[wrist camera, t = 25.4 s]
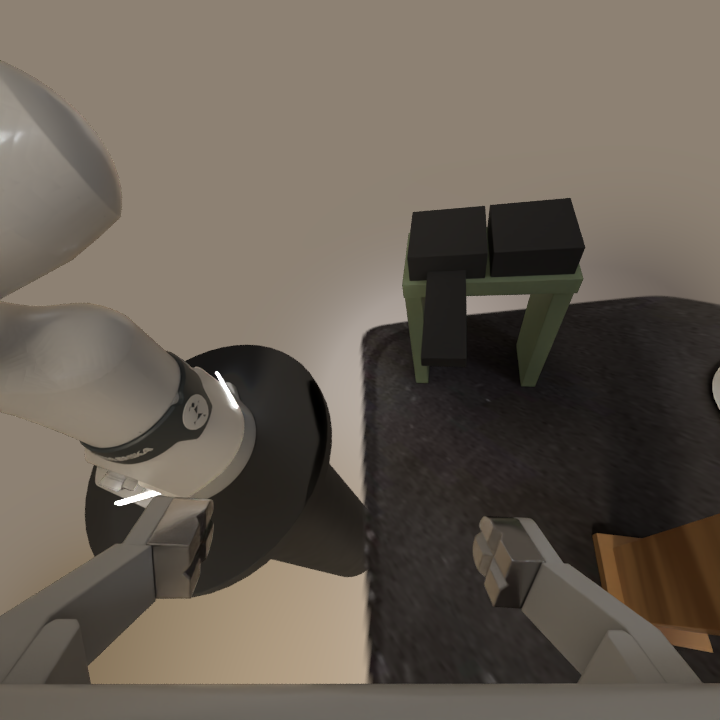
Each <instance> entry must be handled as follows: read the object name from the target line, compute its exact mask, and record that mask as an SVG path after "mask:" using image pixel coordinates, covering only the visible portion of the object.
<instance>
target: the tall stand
mask: <svg viewBox="0 0 720 720" xmlns="http://www.w3.org/2000/svg"><path fill="white" fill-rule="evenodd" d="M592 537H593V543H594V548H595V553H596V559H597V564H598V569H599V575H600V580H601V585H602V589H604V590H605V591H607V592H608V593H609V594H611V595H612V596H614V597H615V598H616V599H618V600H619V601H620V602H622V603H623V604H625V605H626V606H627V607H629V608H630V609H631V610H633V611H634V612H636V613H637V614H638V615H640V616H641V617H643V618H644V619H645V620H647V621H648V622H649V623H651V624H652V625H654V626H655V627H656V628H658V629H659V630H660V631H661V632H662V634H663V635H664V636H665V637H666V639H667V640H668V641H669V642H670V643H671V645H675V646H680V647H685V648H691V649H696V650H701V651H707V652H713V650H712V647H711V644H710V640H709V637H708V634H711V635H719V636H720V514H717V515H714V516H711V517H708V518H704V519H701V520H698V521H695V522H692V523H689V524H686V525H683V526H679V527H676V528H673V529H670V530H667V531H664V532H661V533H658V534H654V535H651V536H648V537H645V538H642V539H641V538H633V537H625V536H617V535H609V534H601V533H596V534H593V535H592Z"/></svg>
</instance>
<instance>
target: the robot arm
mask: <svg viewBox="0 0 720 720" xmlns="http://www.w3.org/2000/svg"><path fill="white" fill-rule="evenodd" d="M121 210H122V192H121V185H120V180H119V176H118V173H117V170H116V167H115V165H114V162H113V160H112V158H111V156H110V154H109V152H108V150H107V148H106V147H105V145H104V143H103V142H102V140H101V139H100V137H99V136H98V134H97V133H96V131H95V130H94V129H93V128H92V127H91V125H90V124H89V123H88V122H87V120H86V119H85V118H84V117H83V116H82V115H81V114H80V113H79V112H78V111H77V110H76V109H75V108H74V107H73V106H72V105H71V104H69V103H68V102H67V101H66V100H65V99H64V98H62V97H61V96H60V95H59V94H57V93H56V92H54V91H53V90H52V89H51V88H50V87H48V86H47V85H45V84H44V83H42V82H41V81H39V80H38V79H36V78H34V77H33V76H31V75H29V74H27V73H26V72H24V71H22V70H20V69H18V68H16V67H14V66H12V65H10V64H8V63H5V62H3V61H1V60H0V299H2V298H3V297H5V296H7V295H9V294H11V293H13V292H15V291H16V290H18V289H20V288H22V287H24V286H26V285H27V284H29V283H31V282H33V281H35V280H36V279H38V278H40V277H42V276H44V275H46V274H48V273H49V272H51V271H53V270H55V269H57V268H59V267H60V266H62V265H64V264H66V263H68V262H70V261H71V260H73V259H74V258H75V257H76V256H77V255H78V254H80V253H81V252H82V251H83V250H85V249H86V248H87V247H88V246H89V245H91V244H92V243H93V242H94V241H95V240H96V239H98V238H99V237H100V236H101V235H102V234H103V233H104V232H105V231H106V230H107V229H108V228H110V227H111V226H112V225H113V224H114V223H115V222H116V221H117V220H118V219H119V218H120V217H121ZM215 373H216V375H217V377H218V379H219V380H220V382H221V383H220V382H219V381H217V380H216V379H215V378H214V377H212V376H211V375H210V374H208V373H207V372H206V371H204V370H203V369H202V368H200V367H195V368H191V367H190V365H189V364H188V363H186V362H185V361H184V360H183V359H180V358H179V357H178V356H176V355H175V354H173V353H171V352H168V351H165V350H164V349H163V348H162V347H161V346H159V345H158V344H157V343H156V342H155V341H154V340H153V339H152V338H151V337H149V336H148V335H147V334H146V333H145V332H144V331H143V330H142V329H140V328H139V327H138V326H137V325H136V324H135V323H134V322H133V321H132V320H131V319H130V318H128V317H127V316H126V315H124V314H122V313H120V312H118V311H115V310H113V309H110V308H107V307H104V306H100V305H95V304H90V303H70V304H60V305H51V306H27V305H19V304H12V303H7V302H2V301H0V412H1V413H5V414H9V415H13V416H16V417H19V418H22V419H25V420H28V421H31V422H33V423H36V424H39V425H42V426H44V427H47V428H50V429H52V430H55V431H57V432H60V433H62V434H65V435H68V436H70V437H72V438H75V439H77V440H79V441H80V442H81V444H82V445H83V446H84V447H85V454H84V455H85V460H86V461H87V462H88V463H91V464H93V465H96V466H97V470H96V476H95V483H96V485H97V486H99V487H101V488H103V489H105V490H107V491H109V492H111V493H113V494H115V495H118V496H120V497H122V498H124V499H123V500H119V501H116V502H115V505H119V506H121V505H124V504H128V503H131V502H133V503H135V504H137V505H139V506H141V507H144V508H146V509H145V510H144V512H143V513H142V515H141V516H140V518H139V519H138V521H137V522H136V524H135V525H134V527H133V528H132V530H131V531H130V533H129V534H128V536H127V537H126V539H125V540H124V542H123V543H122V544H115V545H113V546H112V547H110V548H108V549H107V550H105V551H104V552H102V553H100V554H99V555H97V556H96V557H94V558H93V559H91V560H89V561H88V562H86V563H85V564H83V565H81V566H80V567H78V568H77V569H75V570H73V571H72V572H70V573H69V574H67V575H65V576H64V577H62V578H60V579H59V580H57V581H56V582H54V583H52V584H51V585H49V586H48V587H46V588H44V589H43V590H41V591H39V592H38V593H36V594H35V595H33V596H32V597H30V598H28V599H27V600H25V601H23V602H22V603H20V604H19V605H17V606H15V607H14V608H12V609H11V610H9V611H8V612H6V613H4V614H3V615H1V616H0V720H720V683H702V682H701V680H700V679H699V678H698V677H697V675H696V674H695V673H694V672H693V671H692V669H691V668H690V667H689V666H688V664H687V663H686V662H685V661H684V659H683V658H682V657H681V656H680V655H679V653H678V652H677V651H676V650H675V648H674V647H673V646H672V645H671V643H670V642H669V641H668V640H667V639H666V637H665V636H664V635H663V634H662V632H661V631H660V630H659V629H658V628H656V627H655V626H654V625H652V624H651V623H649V622H648V621H647V620H645V619H644V618H643V617H641V616H640V615H638V614H637V613H636V612H634V611H633V610H631V609H630V608H629V607H627V606H626V605H625V604H623V603H622V602H620V601H619V600H618V599H616V598H615V597H614V596H612V595H611V594H609V593H608V592H607V591H605V590H604V589H602V588H601V587H600V586H598V585H597V584H596V583H594V582H593V581H591V580H590V579H589V578H587V577H586V576H584V575H583V574H582V573H580V572H579V571H578V570H576V569H575V568H573V567H572V566H571V565H569V564H564V563H563V562H562V560H561V559H560V558H559V556H558V555H557V553H556V552H555V550H554V549H553V548H552V546H551V545H550V543H549V542H548V540H547V539H546V537H545V536H544V535H543V533H542V532H541V530H540V529H539V527H538V526H537V524H536V523H535V522H534V521H533V520H532V519H530V518H512V517H493V516H484V517H483V518H482V519H481V521H480V524H479V527H480V529H481V532H480V533H479V534H478V535H476V536H475V538H474V542H473V558H474V562H475V565H476V567H477V570H478V571H479V572H480V573H481V574H483V575H484V576H485V577H486V578H485V581H484V586H485V588H486V591H487V593H488V595H489V598H490V600H491V602H492V605H493V607H507V608H522V609H521V610H522V612H523V613H524V614H525V615H526V616H527V617H528V618H529V619H530V620H531V621H532V622H533V623H534V624H535V625H536V627H537V628H538V629H539V630H540V631H541V632H542V633H543V634H544V635H545V636H546V637H547V638H548V639H549V641H550V642H551V643H552V644H553V645H554V646H555V647H556V648H557V649H558V650H559V651H560V652H561V653H562V655H563V656H564V657H565V658H566V659H567V660H568V661H569V662H570V663H571V664H572V665H573V666H574V667H575V668H576V670H577V671H578V672H579V673H580V674H581V675H582V676H581V677H580V679H579V681H578V683H577V684H91V683H90V677H89V672H88V665H89V664H90V663H91V662H92V661H93V660H94V659H95V658H97V657H98V656H99V655H100V654H101V653H102V652H103V651H104V650H105V649H106V648H107V647H108V646H109V645H110V644H111V643H112V642H113V641H114V640H115V639H116V638H117V637H118V636H119V635H120V634H121V633H122V632H123V631H125V629H127V628H128V627H129V626H130V625H131V624H132V623H133V622H134V621H135V620H136V619H137V618H138V617H139V616H140V615H141V614H142V613H143V612H144V611H145V610H146V609H147V608H149V607H150V606H151V604H153V603H154V602H155V599H156V598H158V599H159V598H160V599H164V598H165V599H166V598H191V596H192V594H193V591H194V589H195V586H196V584H197V581H198V578H199V576H200V564H201V563H202V562H203V561H204V560H205V559H206V558H207V555H208V552H209V549H210V545H211V541H212V536H213V522H212V520H211V519H210V518H211V515H212V513H213V501H212V500H209V499H208V498H210V497H212V496H213V495H215V494H217V493H219V492H220V491H222V490H223V489H224V488H226V487H227V486H228V485H229V484H231V483H232V482H233V481H234V480H235V479H236V477H237V476H238V475H239V474H240V473H241V471H242V470H243V469H244V467H245V466H246V464H247V462H248V460H249V458H250V456H251V454H252V451H253V448H254V444H255V439H256V425H255V420H254V417H253V415H252V413H251V411H250V410H249V409H248V408H247V407H246V406H245V405H244V404H243V403H242V402H241V400H240V399H239V395H238V391H237V389H236V387H235V386H234V385H233V384H231V383H230V382H224V381H223V379H222V377H221V376H220V374H219V373H218V372H215Z"/></svg>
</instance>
